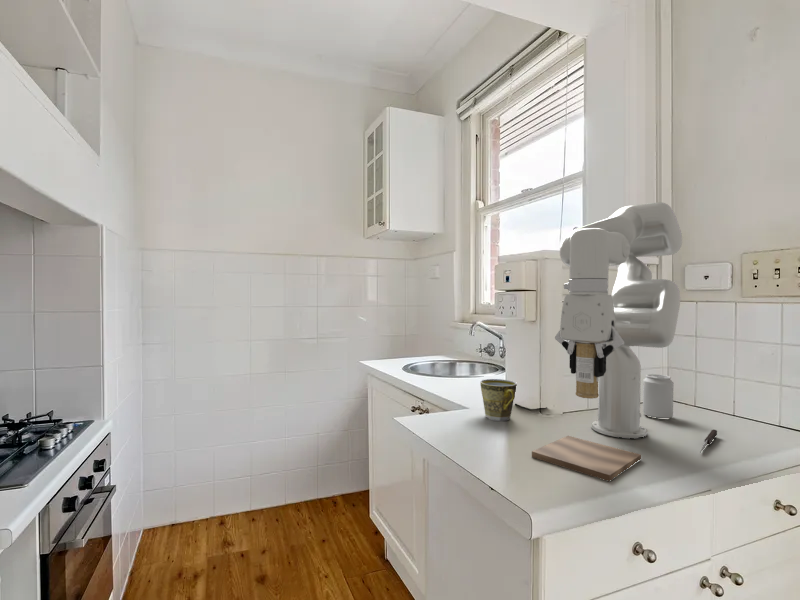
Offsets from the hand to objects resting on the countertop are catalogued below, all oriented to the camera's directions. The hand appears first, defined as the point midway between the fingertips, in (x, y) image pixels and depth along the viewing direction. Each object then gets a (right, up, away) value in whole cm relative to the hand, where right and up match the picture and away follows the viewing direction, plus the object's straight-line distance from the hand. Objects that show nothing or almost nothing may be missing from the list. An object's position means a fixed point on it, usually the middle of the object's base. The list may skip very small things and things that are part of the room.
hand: (587, 373), depth 90 cm
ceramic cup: (-11, -18, +29) cm, 36 cm away
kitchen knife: (+32, -19, +9) cm, 38 cm away
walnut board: (0, -18, 0) cm, 18 cm away
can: (+35, -18, +33) cm, 51 cm away
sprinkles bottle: (0, -5, 0) cm, 5 cm away
